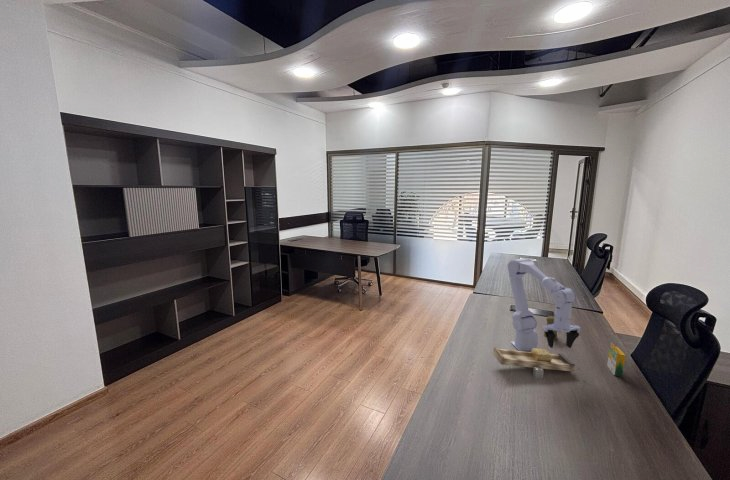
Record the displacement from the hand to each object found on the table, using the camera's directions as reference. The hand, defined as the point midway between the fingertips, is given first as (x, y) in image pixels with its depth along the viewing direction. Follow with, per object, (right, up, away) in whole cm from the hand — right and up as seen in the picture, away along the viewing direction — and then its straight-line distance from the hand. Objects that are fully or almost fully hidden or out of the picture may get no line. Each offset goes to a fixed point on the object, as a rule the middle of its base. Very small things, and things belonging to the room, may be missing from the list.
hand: (559, 346), depth 125 cm
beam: (-12, -7, +2) cm, 14 cm away
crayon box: (+23, -11, 0) cm, 26 cm away
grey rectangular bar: (-11, -10, +2) cm, 16 cm away
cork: (+15, -6, +29) cm, 33 cm away
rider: (-8, -6, +1) cm, 10 cm away
